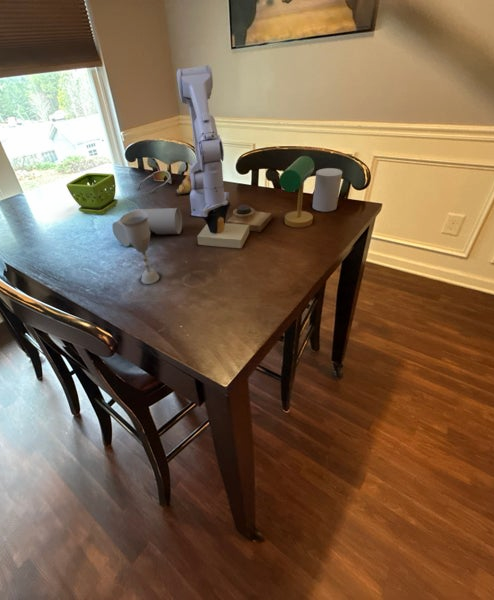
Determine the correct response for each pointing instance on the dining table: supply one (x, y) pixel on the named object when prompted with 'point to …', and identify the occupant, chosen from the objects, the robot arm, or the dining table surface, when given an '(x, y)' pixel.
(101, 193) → the flower pot
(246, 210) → the button
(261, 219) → the switch box
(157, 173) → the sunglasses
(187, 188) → the croissant
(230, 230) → the dimmer panel
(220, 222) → the dimmer knob
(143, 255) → the chalice
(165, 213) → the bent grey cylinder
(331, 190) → the light grey upright cylinder
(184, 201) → the dining table surface
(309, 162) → the bracelet display stand
